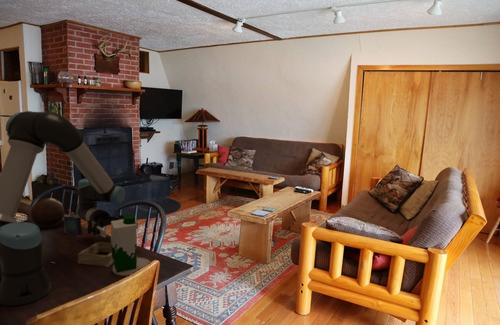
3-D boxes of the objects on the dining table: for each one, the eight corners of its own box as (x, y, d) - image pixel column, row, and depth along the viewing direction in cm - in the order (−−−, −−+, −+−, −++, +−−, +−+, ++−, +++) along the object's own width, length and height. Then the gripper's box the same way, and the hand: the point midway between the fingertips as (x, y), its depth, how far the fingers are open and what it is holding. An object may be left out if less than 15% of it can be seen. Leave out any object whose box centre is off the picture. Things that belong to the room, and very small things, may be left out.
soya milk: (139, 269, 136) (138, 220, 132) (114, 274, 132) (112, 223, 127) (134, 259, 143) (133, 212, 139) (110, 263, 139) (108, 215, 135)
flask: (63, 233, 175) (61, 212, 173) (67, 231, 177) (66, 210, 176) (79, 235, 172) (78, 214, 171) (83, 233, 175) (82, 212, 174)
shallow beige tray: (108, 266, 140) (107, 257, 139) (78, 263, 143) (77, 253, 142) (126, 253, 153) (126, 244, 152) (99, 250, 155) (98, 241, 155)
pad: (138, 277, 131) (138, 275, 131) (105, 273, 134) (104, 271, 134) (156, 261, 145) (156, 259, 145) (125, 258, 148) (125, 256, 148)
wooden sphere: (69, 227, 184) (67, 198, 181) (36, 234, 174) (33, 204, 171) (60, 220, 195) (58, 193, 192) (28, 226, 184) (26, 198, 182)
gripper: (125, 219, 166) (149, 230, 152) (68, 233, 148) (90, 247, 134) (124, 203, 165) (149, 213, 150) (67, 215, 147) (89, 228, 132)
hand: (121, 229), depth 142 cm, fingers open, 13 cm apart
